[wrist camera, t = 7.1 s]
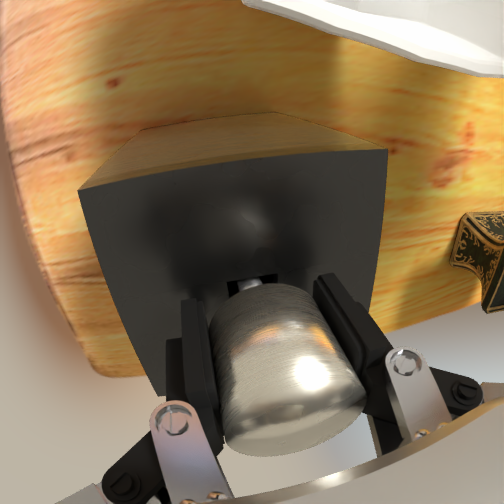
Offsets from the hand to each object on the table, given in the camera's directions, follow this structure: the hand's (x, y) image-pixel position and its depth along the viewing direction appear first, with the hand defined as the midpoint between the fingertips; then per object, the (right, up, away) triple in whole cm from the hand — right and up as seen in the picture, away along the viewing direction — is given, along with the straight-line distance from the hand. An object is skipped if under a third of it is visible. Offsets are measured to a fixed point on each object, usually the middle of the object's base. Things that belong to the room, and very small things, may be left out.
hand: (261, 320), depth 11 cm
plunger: (-3, +8, +14) cm, 16 cm away
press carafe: (-3, +7, +16) cm, 17 cm away
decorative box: (+32, +5, +25) cm, 41 cm away
